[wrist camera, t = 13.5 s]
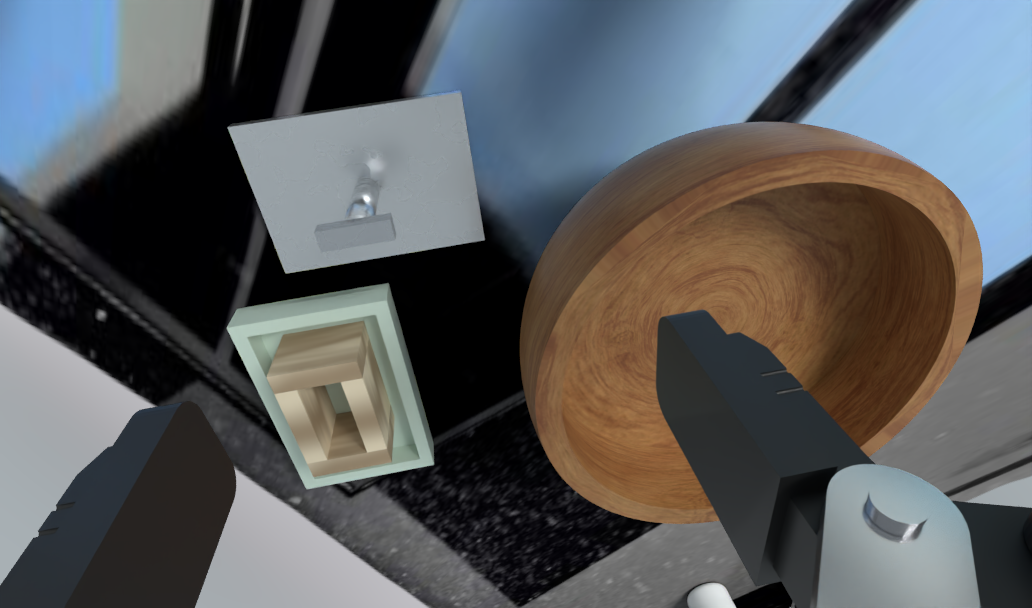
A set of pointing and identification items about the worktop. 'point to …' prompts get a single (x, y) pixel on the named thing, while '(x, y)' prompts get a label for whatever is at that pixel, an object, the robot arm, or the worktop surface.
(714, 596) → the drinking glass
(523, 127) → the worktop surface
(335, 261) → the wall hook
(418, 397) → the tray
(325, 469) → the hollow wooden block
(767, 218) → the bowl
